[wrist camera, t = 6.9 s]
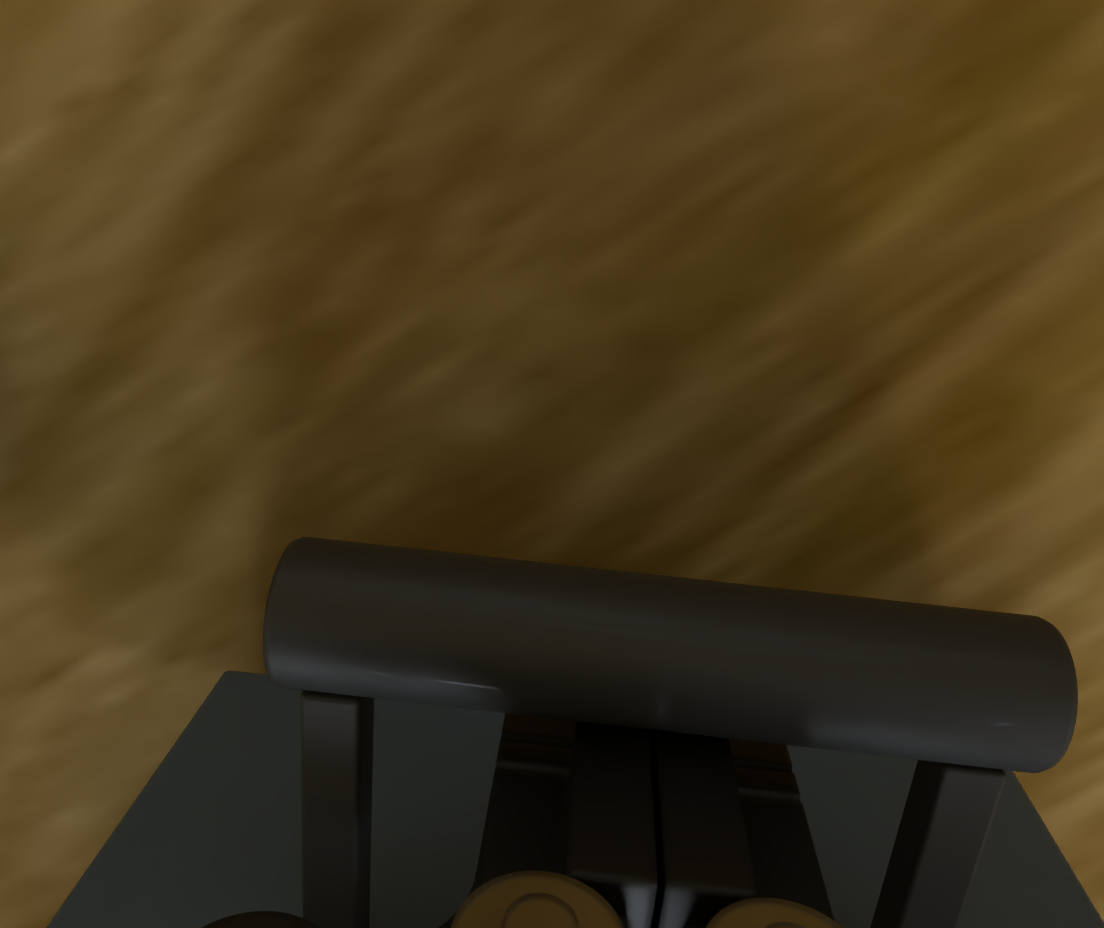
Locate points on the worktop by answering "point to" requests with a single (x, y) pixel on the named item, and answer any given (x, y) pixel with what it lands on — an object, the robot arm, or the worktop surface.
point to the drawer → (596, 697)
